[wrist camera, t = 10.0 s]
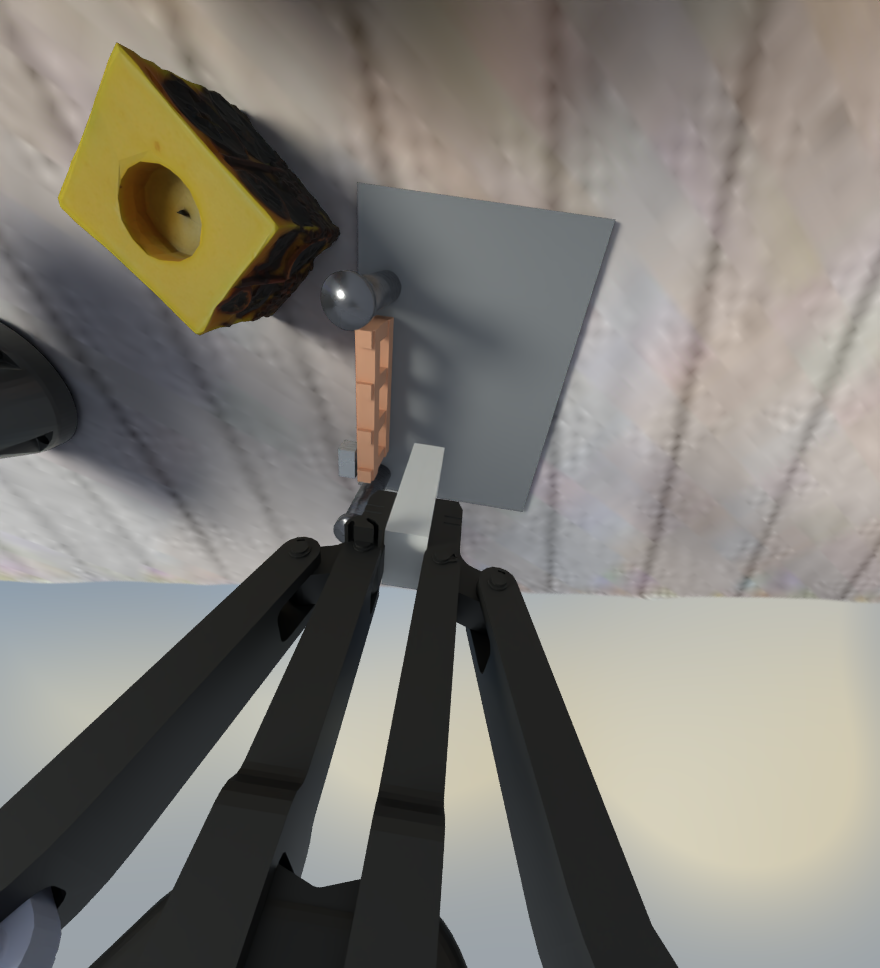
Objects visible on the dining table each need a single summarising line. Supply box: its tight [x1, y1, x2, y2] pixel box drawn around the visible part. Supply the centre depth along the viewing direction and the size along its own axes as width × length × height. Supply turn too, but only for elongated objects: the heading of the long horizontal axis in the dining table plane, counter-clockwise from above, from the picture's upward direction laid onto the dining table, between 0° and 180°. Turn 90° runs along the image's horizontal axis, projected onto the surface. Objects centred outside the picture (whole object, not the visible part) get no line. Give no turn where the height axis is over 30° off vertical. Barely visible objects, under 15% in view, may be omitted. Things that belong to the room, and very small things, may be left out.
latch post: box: [334, 440, 391, 543], centre depth 36 cm, size 5×6×11 cm
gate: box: [355, 315, 394, 483], centre depth 32 cm, size 13×2×6 cm, turn 174°
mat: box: [357, 182, 615, 512], centre depth 34 cm, size 19×27×1 cm
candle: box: [58, 42, 340, 335], centre depth 25 cm, size 10×10×10 cm
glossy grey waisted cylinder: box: [321, 270, 401, 331], centre depth 26 cm, size 3×3×11 cm
